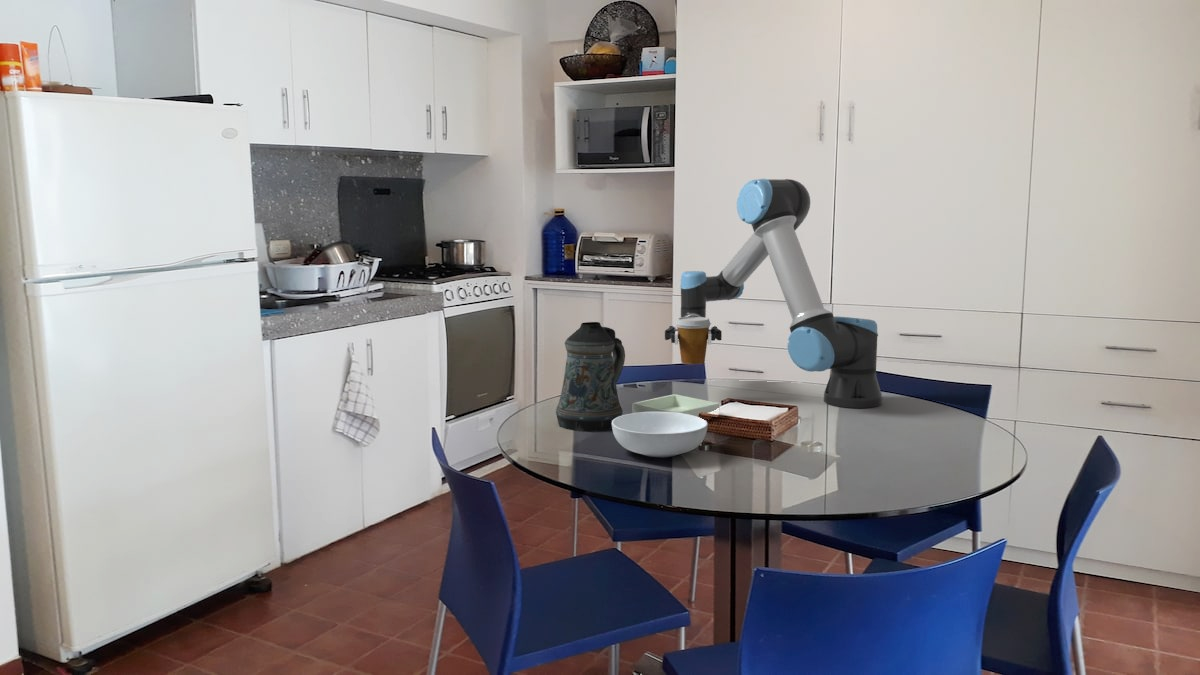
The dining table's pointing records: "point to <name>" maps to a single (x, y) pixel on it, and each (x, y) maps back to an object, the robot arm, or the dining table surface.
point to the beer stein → (591, 379)
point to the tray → (675, 405)
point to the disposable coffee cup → (693, 338)
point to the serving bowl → (659, 432)
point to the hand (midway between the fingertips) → (693, 339)
